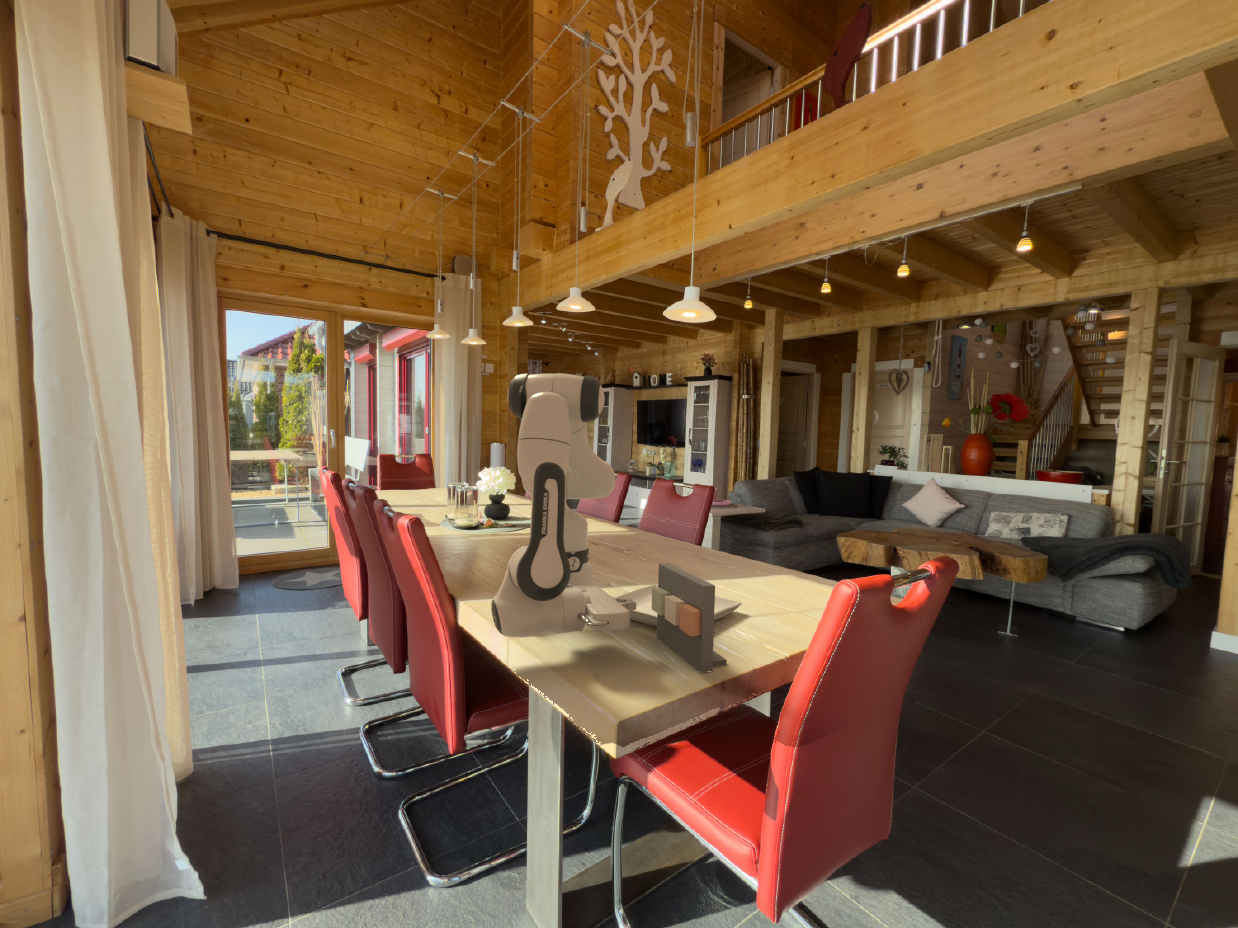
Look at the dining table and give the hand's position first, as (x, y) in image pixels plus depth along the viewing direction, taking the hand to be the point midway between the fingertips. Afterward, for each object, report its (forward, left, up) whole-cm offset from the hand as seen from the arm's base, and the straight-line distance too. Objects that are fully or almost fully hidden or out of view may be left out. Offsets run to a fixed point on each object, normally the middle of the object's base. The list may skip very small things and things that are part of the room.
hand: (633, 603), depth 120 cm
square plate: (-18, +18, -10) cm, 27 cm away
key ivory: (+7, +7, -2) cm, 10 cm away
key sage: (0, +7, -2) cm, 8 cm away
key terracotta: (+13, +7, -2) cm, 15 cm away
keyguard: (+7, +11, -9) cm, 16 cm away
